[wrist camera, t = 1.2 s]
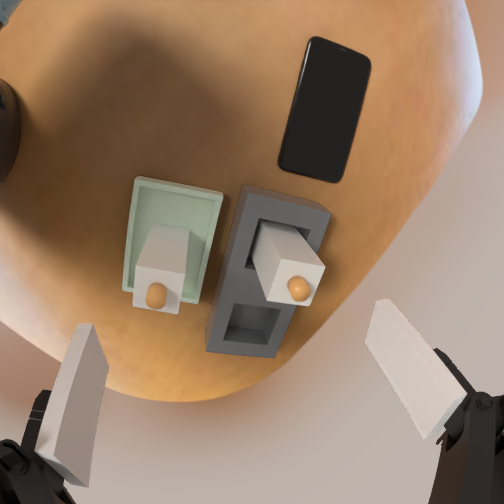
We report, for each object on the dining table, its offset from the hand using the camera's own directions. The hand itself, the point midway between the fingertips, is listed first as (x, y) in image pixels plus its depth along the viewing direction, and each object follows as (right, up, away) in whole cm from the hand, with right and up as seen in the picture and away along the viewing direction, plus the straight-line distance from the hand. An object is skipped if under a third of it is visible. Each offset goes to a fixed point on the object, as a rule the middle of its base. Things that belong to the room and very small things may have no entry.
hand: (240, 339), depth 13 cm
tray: (-9, +5, +20) cm, 23 cm away
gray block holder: (+1, +1, +24) cm, 24 cm away
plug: (-9, +5, +20) cm, 22 cm away
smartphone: (+8, +20, +17) cm, 27 cm away
